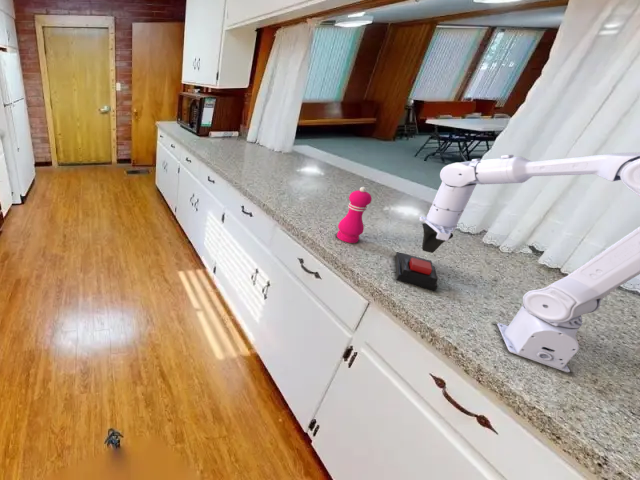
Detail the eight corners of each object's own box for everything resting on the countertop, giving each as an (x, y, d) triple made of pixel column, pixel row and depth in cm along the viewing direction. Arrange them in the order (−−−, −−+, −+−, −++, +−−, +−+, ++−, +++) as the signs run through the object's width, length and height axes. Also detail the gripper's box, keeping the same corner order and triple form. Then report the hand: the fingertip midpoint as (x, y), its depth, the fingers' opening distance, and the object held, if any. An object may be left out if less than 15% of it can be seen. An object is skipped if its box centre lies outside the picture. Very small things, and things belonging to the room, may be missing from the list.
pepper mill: (333, 238, 105) (348, 187, 97) (337, 231, 110) (352, 181, 102) (357, 246, 100) (376, 193, 92) (361, 237, 105) (378, 186, 97)
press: (434, 291, 80) (440, 280, 78) (396, 280, 85) (401, 268, 83) (428, 266, 90) (434, 255, 88) (394, 256, 95) (399, 246, 93)
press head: (429, 275, 81) (432, 269, 80) (409, 270, 83) (412, 264, 82) (427, 268, 84) (430, 262, 83) (408, 263, 86) (411, 257, 85)
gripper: (423, 193, 83) (406, 234, 88) (429, 213, 72) (409, 258, 78) (459, 200, 79) (439, 242, 84) (471, 221, 68) (447, 268, 74)
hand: (427, 250), depth 81 cm, fingers closed
